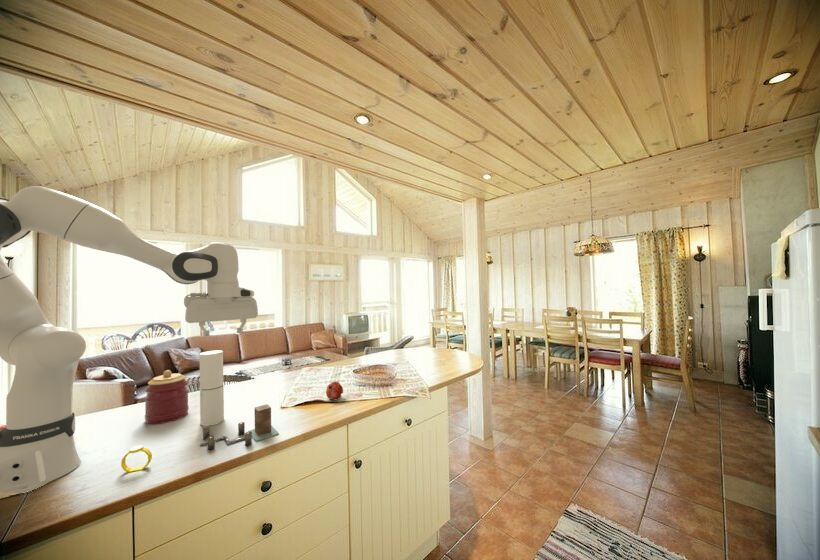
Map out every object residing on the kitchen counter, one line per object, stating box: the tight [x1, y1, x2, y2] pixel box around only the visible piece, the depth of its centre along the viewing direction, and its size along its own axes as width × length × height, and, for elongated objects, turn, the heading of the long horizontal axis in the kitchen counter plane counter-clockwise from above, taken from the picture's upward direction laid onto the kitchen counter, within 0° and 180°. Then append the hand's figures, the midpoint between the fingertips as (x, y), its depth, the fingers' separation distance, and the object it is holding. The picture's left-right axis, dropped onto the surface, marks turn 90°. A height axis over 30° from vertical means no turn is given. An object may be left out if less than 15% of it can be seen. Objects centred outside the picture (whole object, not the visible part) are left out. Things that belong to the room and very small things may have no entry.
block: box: [254, 403, 272, 436], centre depth 100 cm, size 4×4×8 cm
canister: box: [144, 369, 190, 425], centre depth 114 cm, size 13×13×18 cm
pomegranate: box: [325, 381, 344, 400], centre depth 130 cm, size 7×7×10 cm
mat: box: [247, 424, 280, 443], centre depth 99 cm, size 7×9×1 cm
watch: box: [120, 444, 153, 473], centre depth 80 cm, size 6×3×6 cm, turn 113°
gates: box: [202, 421, 253, 451], centre depth 95 cm, size 11×16×4 cm
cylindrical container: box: [199, 349, 225, 427], centre depth 109 cm, size 7×7×25 cm
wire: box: [199, 435, 245, 447], centre depth 95 cm, size 13×6×1 cm, turn 131°
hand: (223, 334), depth 99 cm, fingers open, 8 cm apart
